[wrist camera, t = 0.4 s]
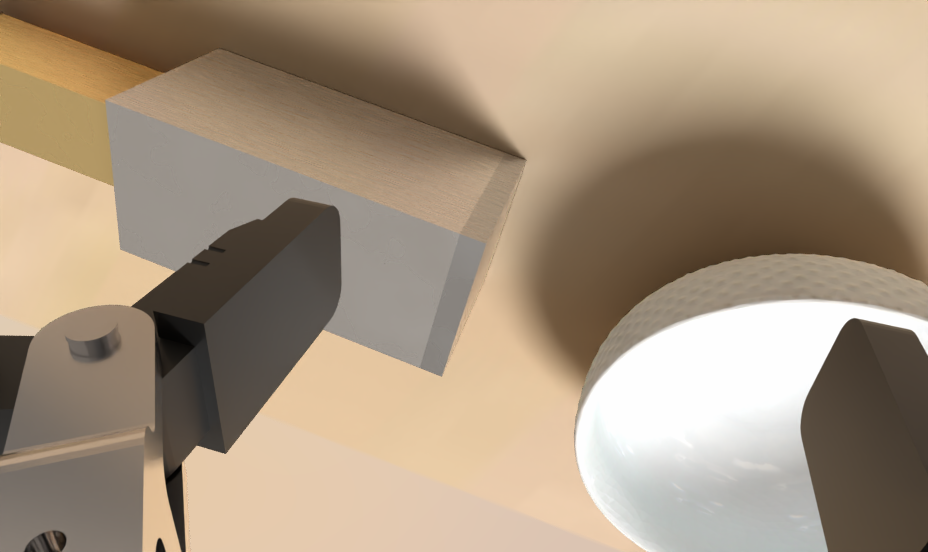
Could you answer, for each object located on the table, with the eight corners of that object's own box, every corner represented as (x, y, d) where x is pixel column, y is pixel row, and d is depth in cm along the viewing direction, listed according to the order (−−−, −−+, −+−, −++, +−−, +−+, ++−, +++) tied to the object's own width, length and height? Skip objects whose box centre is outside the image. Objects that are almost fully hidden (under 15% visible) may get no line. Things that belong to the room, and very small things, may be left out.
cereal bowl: (660, 151, 26) (655, 236, 21) (1085, 273, 25) (1205, 403, 19) (553, 418, 37) (529, 523, 31) (847, 519, 35) (879, 651, 29)
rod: (-28, 0, 30) (-114, 20, 27) (447, 177, 28) (417, 220, 25) (-10, 82, 33) (-87, 110, 29) (428, 249, 31) (397, 298, 28)
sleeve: (219, 48, 29) (105, 99, 24) (526, 160, 28) (486, 243, 22) (217, 178, 34) (120, 249, 28) (484, 280, 32) (442, 376, 27)
